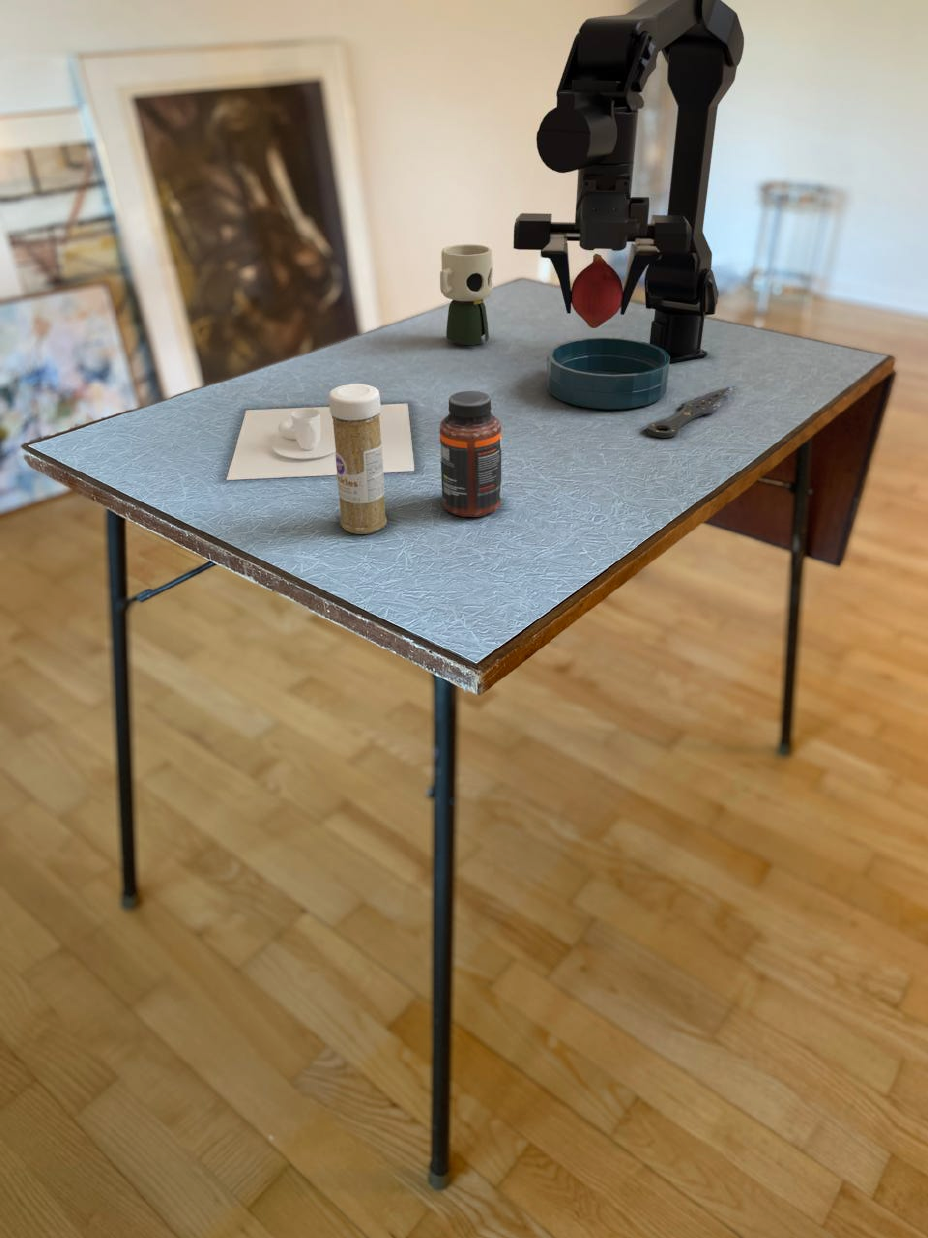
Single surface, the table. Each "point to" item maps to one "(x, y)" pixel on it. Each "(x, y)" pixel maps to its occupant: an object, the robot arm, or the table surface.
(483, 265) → the character mug
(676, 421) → the throwing knife
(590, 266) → the onion
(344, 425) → the sprinkles bottle
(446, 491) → the supplement bottle
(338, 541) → the table surface
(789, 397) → the table surface
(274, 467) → the teacup and saucer
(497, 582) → the table surface
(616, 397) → the bowl
